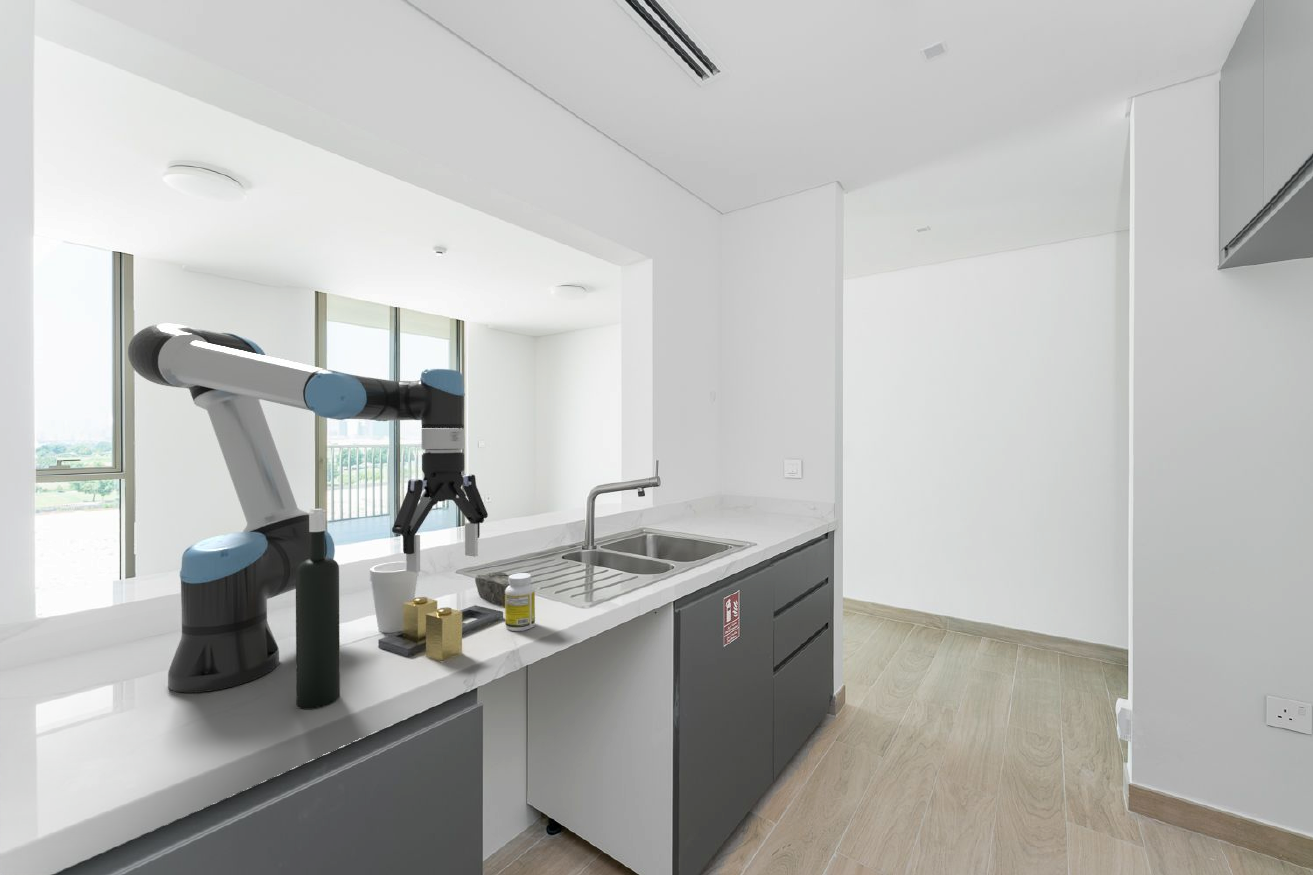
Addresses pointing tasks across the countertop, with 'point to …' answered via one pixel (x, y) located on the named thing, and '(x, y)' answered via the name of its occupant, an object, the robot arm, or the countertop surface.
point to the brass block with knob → (417, 618)
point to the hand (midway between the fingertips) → (444, 563)
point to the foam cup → (392, 593)
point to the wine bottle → (317, 622)
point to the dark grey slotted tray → (410, 648)
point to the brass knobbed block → (443, 634)
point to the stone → (492, 587)
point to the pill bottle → (519, 603)
